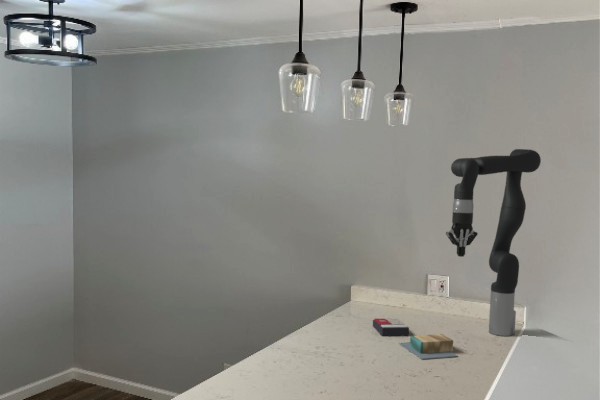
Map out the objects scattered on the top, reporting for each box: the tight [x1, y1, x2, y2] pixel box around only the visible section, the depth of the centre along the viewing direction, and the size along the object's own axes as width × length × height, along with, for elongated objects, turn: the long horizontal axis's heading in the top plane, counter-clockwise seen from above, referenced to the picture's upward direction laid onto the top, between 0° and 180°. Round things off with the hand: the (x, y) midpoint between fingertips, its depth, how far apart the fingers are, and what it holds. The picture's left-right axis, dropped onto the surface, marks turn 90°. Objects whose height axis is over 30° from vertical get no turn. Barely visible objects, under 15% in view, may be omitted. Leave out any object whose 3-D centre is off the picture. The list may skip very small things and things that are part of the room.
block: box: [409, 333, 454, 354], centre depth 218 cm, size 4×8×13 cm
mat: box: [398, 341, 458, 360], centre depth 218 cm, size 14×18×1 cm
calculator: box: [372, 318, 410, 337], centre depth 242 cm, size 11×4×15 cm
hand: (460, 256), depth 228 cm, fingers closed
